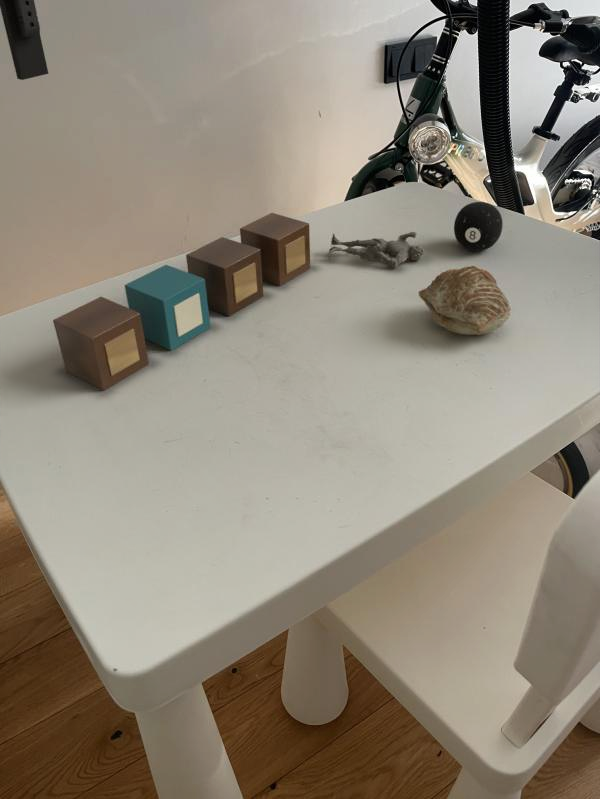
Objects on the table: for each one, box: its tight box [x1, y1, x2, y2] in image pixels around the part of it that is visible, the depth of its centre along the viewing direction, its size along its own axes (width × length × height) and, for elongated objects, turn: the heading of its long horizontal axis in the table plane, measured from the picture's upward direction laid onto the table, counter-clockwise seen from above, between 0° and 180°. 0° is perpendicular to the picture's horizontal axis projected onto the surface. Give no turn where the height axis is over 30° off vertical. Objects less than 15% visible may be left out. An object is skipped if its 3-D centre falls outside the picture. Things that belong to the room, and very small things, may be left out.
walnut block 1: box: [52, 296, 150, 391], centre depth 74 cm, size 6×6×6 cm
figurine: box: [327, 231, 425, 269], centre depth 93 cm, size 6×4×12 cm
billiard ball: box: [453, 201, 504, 252], centre depth 94 cm, size 6×6×6 cm
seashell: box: [418, 265, 511, 336], centre depth 78 cm, size 9×7×8 cm
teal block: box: [124, 264, 211, 352], centre depth 79 cm, size 6×6×6 cm
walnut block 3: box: [239, 212, 311, 287], centre depth 90 cm, size 6×6×6 cm
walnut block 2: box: [185, 236, 264, 317], centre depth 85 cm, size 6×6×6 cm
